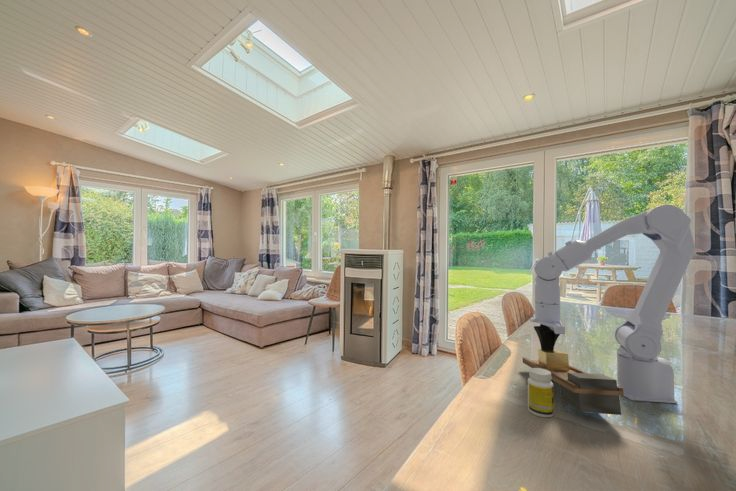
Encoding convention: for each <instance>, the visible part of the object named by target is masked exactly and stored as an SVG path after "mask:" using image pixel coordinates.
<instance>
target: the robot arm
mask: <svg viewBox="0 0 736 491" xmlns="http://www.w3.org/2000/svg"><path fill="white" fill-rule="evenodd" d="M691 221H692V220H691V218H690V217H689V215H687V214H686V213H685V211H684V210H682V209H681V208H680V207H678V206H677V205H676V206H675V205H672V204H661V205H658V206H655V207H654V208H652V209H647V210H644V211H642V212H640V213H638V214H635V215H633V216H629V217H627V218H624V219H622V220H620V221H618V222H616V223H614V224H612V225H611V226H609V227H608V228H606V229H604V230H603V231H601V232H598V233H596V235H593V236H592V237H590V238H588V239H586V240H577V239H575V240H573V241H571V240H568V241H566V242H565V243H564V246H562V247H561V248H559V249H557V250H555V251H553V252H552V251H549V252H547V256H544V257H541V258H539V259H538V260H537V261H536V262H535V265H534V267H533V269H534V272H535V274H536V276H535V285H534V305H535V306H534V313H532V318H530V320H529V321H530V322H531V323H537V324H540V325H534V326H533V328H534V331H535V333H536V335H537V337H538V340H539V344H540V349H542V350H555V345H556V342H557V340H558V338H559V337H560V335H565V334H566V327H565V325H563V323H562V320H561V286H560V277H561V275H562V274H563V273H562V272H568V271H571V270H572V269H574V268H576V267H578V266H580V265H582V264H584V263H585V262H588V261H590V260H591V259H592V257H593V253H594V252H595V251H597V250H599V249H601V248H603V247H606V246H608V245H610V244H612V243H613V242H616V241H618V240H620V239H622V238H625V237H626V236H631V235H640V234H642V235H644V236H645V237H646V238H649V239H650V240H651V241H652V242H653V244H655V246H656V247H657V249H659V251H660V252H659V253H658V257H657V259H656V260H655V263H654V265H653V267H652V269H651V271H650V273H649V276H648V278H647V281H646V283H645V285H644V287H643V290H642V291H641V294H640V296H639V298H638V300H637V302H636V305H635V307H634V309H633V311H632V312H631V313H630V314H628V316H627V317H626V319H625V320H624V321H623V323H622V324H620V325H619V326H618V327H616V329H615V331H614V338H615V341H616V342H617V343H618V345H620V346H619V348H618V349H617V350H616V370H617V371H616V372H617V374H616V376H617V379H616V380H617V386H619V387H622V388H623V392H624V396H623V397H625V398H627V399H628V400H631V401H636V402H653V403H668V404H678V400H676V399H675V373H674V369H673V367H672V365H671V363H670V362H669V361H668V360H667V359H666V358H664V357H661V356H659V355H660V354H661V352H662V344H661V343H662V342H661V339H662V336H663V334H664V332H663V331H664V330H663V325H662V322H663V320H664V318H665V316H666V314H667V311H668V309H669V307H670V305H671V302H672V301H673V298H674V296H675V293H676V292H677V291H678V287H679V286H680V284H681V282H682V279H683V276H684V275H685V273H686V270H687V268H688V266H689V265H690V262H691V260H692V257H693V256H694V253H695V251H696V245H695V241H694V237H693V233H692V229H691V224H692V222H691Z"/></svg>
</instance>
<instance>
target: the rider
mask: <svg viewBox="0 0 736 491" xmlns="http://www.w3.org/2000/svg"><path fill="white" fill-rule="evenodd" d="M537 356H538V359H537V360H539V365H541V366H542V367H544V368H546V369H548V370H561V371H569V365H570V364H569V362H570V361H569V354H568V353H567V352H565V351H562V350H558V349H554V350H542V349H541V348H538V349H537Z"/></svg>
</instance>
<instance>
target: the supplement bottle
mask: <svg viewBox="0 0 736 491" xmlns="http://www.w3.org/2000/svg"><path fill="white" fill-rule="evenodd" d="M528 372H529V373H528V376H529V377H528V378H527V382H528V385H527V410H528V411H529V412H530V413H532V415H535V416H537V417H541V418H551V417H553V416H554V414H555V404H554V403H555V401H554V400H555V399H554V397H555V395H554V390H555V389H554V388H555V386H554V383H553V382H552V377H551V372H550V371H548V370H545V369H541V368H531V367H530V368H529V370H528Z"/></svg>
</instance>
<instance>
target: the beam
mask: <svg viewBox="0 0 736 491" xmlns="http://www.w3.org/2000/svg"><path fill="white" fill-rule="evenodd" d="M522 363H523V364H524V365H526V366H528V367H529V368H530V369H531V368H541V369H545V370H548V369H546V368H544V367H542V366H541V365H539V359H536V360H534V359H528V358H527V357H522ZM548 371H550V372H551V377H552V379H551V381H554V382H555V383H557V384H559V394H560V395H559V396H560V400H562V401H564V402H566V404H568V405H570V406H571V407H573V408H574V409H576V410H577V411H579V412H580V413H587V414H588V413H589V414H604V415H616V416H617V415H618V416H621V415H622V408H621V398H620V397H625V396H624V392H623V388H622V387H619V386H617V384H618V381H617V379H615V378H613V377H610V376H608V375H605V374H603V373H601V374H600V373H588V372H586V371H584V370H581V369H579V368H577V367H575V366H572V365H570V364H569V371H561V370H548Z"/></svg>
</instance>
